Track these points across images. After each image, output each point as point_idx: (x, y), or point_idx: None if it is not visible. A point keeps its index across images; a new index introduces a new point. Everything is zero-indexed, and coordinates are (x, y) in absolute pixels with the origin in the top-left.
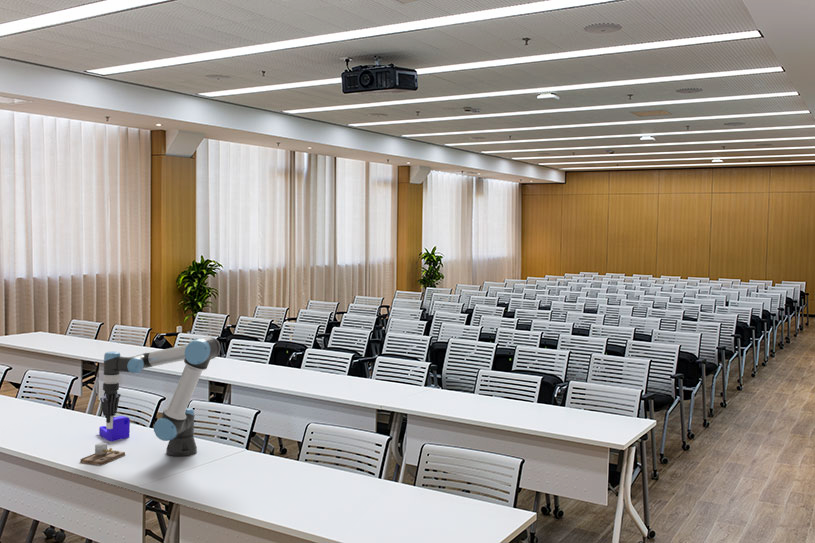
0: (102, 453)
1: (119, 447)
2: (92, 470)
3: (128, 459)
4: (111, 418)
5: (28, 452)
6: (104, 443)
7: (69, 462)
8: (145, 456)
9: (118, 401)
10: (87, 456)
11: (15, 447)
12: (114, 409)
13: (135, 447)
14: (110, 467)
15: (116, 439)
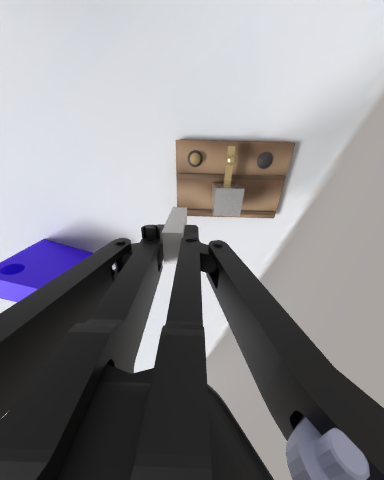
0: (235, 184)
1: (122, 207)
2: (344, 134)
3: (213, 93)
4: (180, 227)
5: (225, 325)
6: (217, 198)
7: (272, 237)
8: (159, 44)
9: (5, 312)
10: (254, 213)
11: (206, 348)
12: (131, 257)
13: (96, 164)
14: (311, 93)
15: (80, 251)
